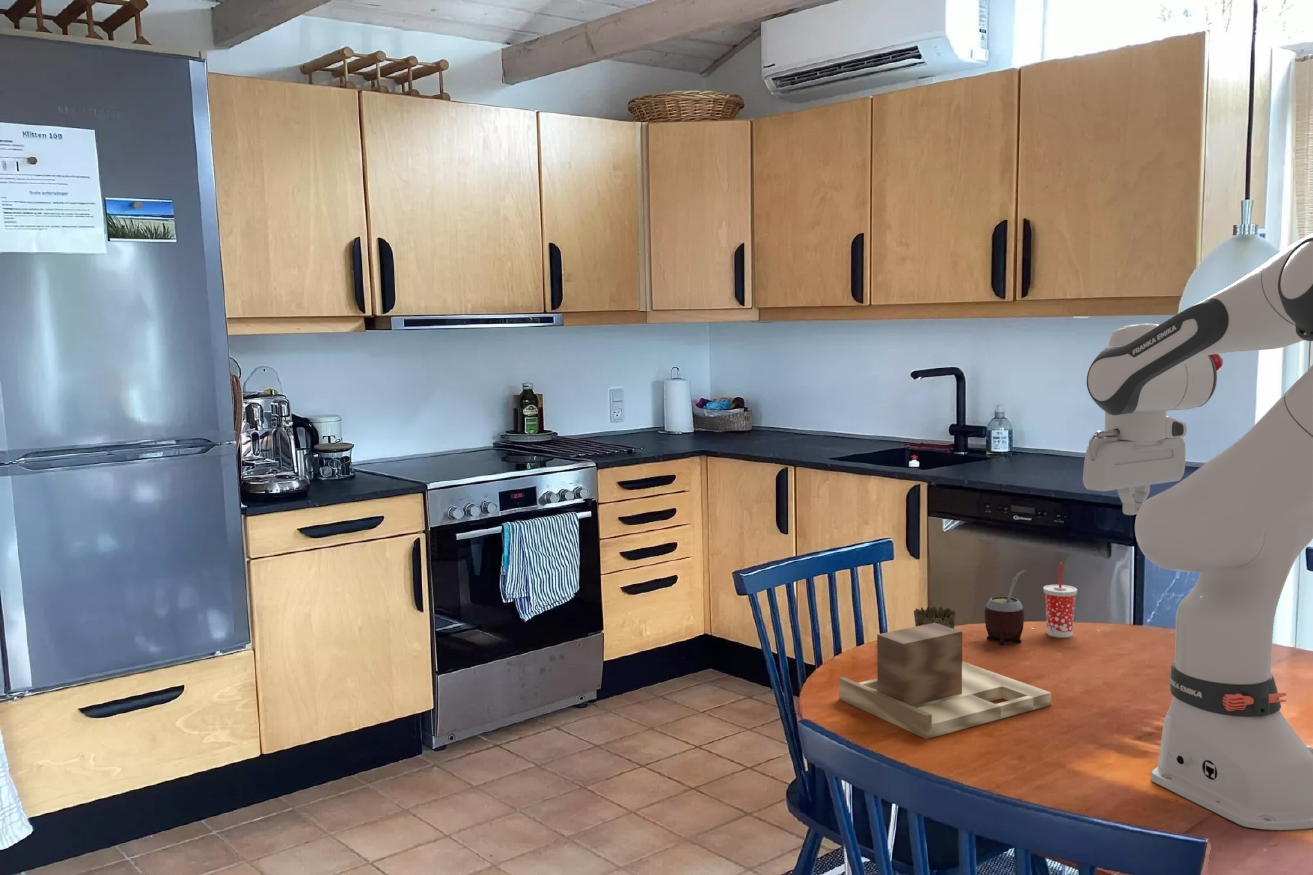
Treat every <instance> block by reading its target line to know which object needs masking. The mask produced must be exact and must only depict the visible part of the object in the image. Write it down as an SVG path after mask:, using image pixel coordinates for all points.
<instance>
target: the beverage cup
mask: <svg viewBox="0 0 1313 875" xmlns="http://www.w3.org/2000/svg"><path fill="white" fill-rule="evenodd" d="M1058 565H1059V566H1058V584H1047V585H1045V586H1043V593H1044V599H1045V619H1046V621H1045V622H1046V634H1047V635H1048V636H1050V637H1052V638H1053V637H1054V638H1062V639H1063V638H1065V639H1066V638H1071V637H1072V636H1073V633H1074V632H1073V631H1074V630H1073V629H1074V618H1075V605H1076V604H1075V603H1076V595H1077V594H1078V588H1077V587H1075V586H1072V585H1066V584H1063V583H1062V580H1063V578H1062V576H1063V573H1062V571H1063V562H1059V563H1058Z"/></svg>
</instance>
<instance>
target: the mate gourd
mask: <svg viewBox="0 0 1313 875" xmlns="http://www.w3.org/2000/svg"><path fill="white" fill-rule="evenodd" d="M1026 570H1027V569H1025V568H1024V569H1023V570H1021V571H1019V572H1017V573H1016V575H1015V574H1014V577H1013V578H1012V579H1011V586H1010V589H1009V592H1008V593H1007V594H1008V595H1007V596H1005V595H1003V596H1001V595H1000V596H993V597H990V598H989V600H988V601H987V603H986V604H985V609H984V621H985V623H984V624H985V628H986V632H987V636H986V640H988V641H996V642H998V645H999V646H1004V645H1005V644H1006V643H1013V644H1022V639H1021V636H1022V634H1023V631H1024V630H1023V629H1024V623H1025V611H1024V607H1023V604H1022V602H1021V601H1020V600H1019V599H1018V598H1016V597H1013V596H1012V594H1013V593H1014V588H1015V585H1016V584H1017V582H1018V578H1019V577H1020V575H1021V574H1023V573H1024V572H1026Z"/></svg>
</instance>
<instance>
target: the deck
mask: <svg viewBox="0 0 1313 875" xmlns="http://www.w3.org/2000/svg"><path fill="white" fill-rule="evenodd" d="M838 696H839V697H838V700H840V701H842V702H845V703H846V704H849V705H851V706H853V707H855V708H857V709H859V710H862V711H864V712H866V713H868V714H871V715H872V716H875V717H877V718H879V719H881V720H884V721H885V722H888V723H890V724H893V725H895V726H897V727H899V728H901V729H904V730H906V731H907V732H910V733H913V734H914V735H917V736H919V737H921V738H923V739H925V740H930V739H932V738H935V737H939V736H943V735H947V734H950V733H954V732H958V731H961V730H965V729H968V728H971V727H975V726H979V725H983V724H987V723H991V722H995V721H998V720H1002V719H1005V718H1009V717H1011V716H1012V717H1013V716H1016V715H1020V714H1023V713H1027V712H1030V711H1034V710H1036V709H1041V708H1045V707H1049V706H1052V692H1050V691H1048V690H1045V689H1042V688H1039V687H1036V686H1034V685H1031V684H1028V683H1025V682H1023V681H1020V680H1016V679H1013V678H1011V677H1008V676H1005V675H1002V674H999V673H996V672H994V671H991V670H987V669H986V668H983V667H980V666H977V665H974V664H971V663H968V662H966V661H963V660H962V694H958V695H954V696H950V697H946V698H942V699H938V700H934V701H930V702H926V703H922V704H918V705H914V706H911V705H908V704H906V703H904V702H901V701H899V700H897V699H894V698H892V697H889V696H887V695H885V694H882V693H880V692H878V691H877V678H872V679H869V680H864V681H859V682H856V681H854V680H852V679H849V678H847V677H845V676H843V677H839V678H838ZM1001 699H1003V700H1005V701H1003V702H1002V701H1001V702H998V703H994V702H995V701H997V700H1001Z"/></svg>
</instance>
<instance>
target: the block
mask: <svg viewBox="0 0 1313 875" xmlns="http://www.w3.org/2000/svg"><path fill="white" fill-rule="evenodd" d="M876 635H877V636H876V642H877V643H876V645H877V646H876V649H877V650H876V652H877V655H876V656H877V657H876V658H877V659H876V660H877V661H876V662H877V665H876V668H877V675H876V677H877V678H876V679H877V691H878V692H880V693H882V694H885V695H887V696H889V697H892V698H894V699H897V700H899V701H901V702H904V703H906V704H908V705H911V706H914V705H918V704H922V703H926V702H930V701H934V700H938V699H942V698H946V697H950V696H954V695H958V694H962V661H963V631H962V630H959V629H957V628H956V629H955V628H954V629H953V628H950V627H947V626H944V625H940V624H937V623H931V624H926V625H921V626H913V627H908V628H907V627H906V628H902V629H898V630H893V631H888V632H883V633H879V634H876Z"/></svg>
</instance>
